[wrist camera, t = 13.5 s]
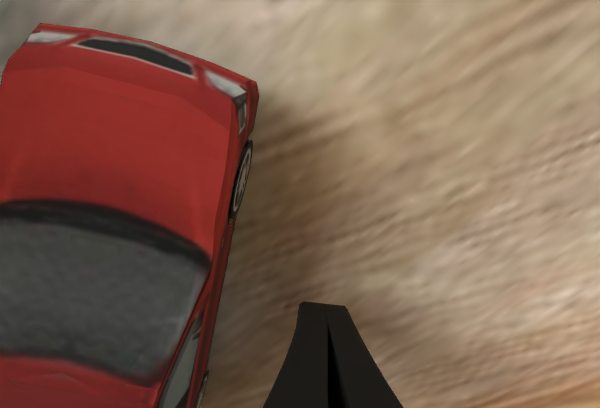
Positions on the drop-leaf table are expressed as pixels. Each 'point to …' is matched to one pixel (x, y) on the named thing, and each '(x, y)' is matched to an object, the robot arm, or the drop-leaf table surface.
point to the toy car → (115, 218)
